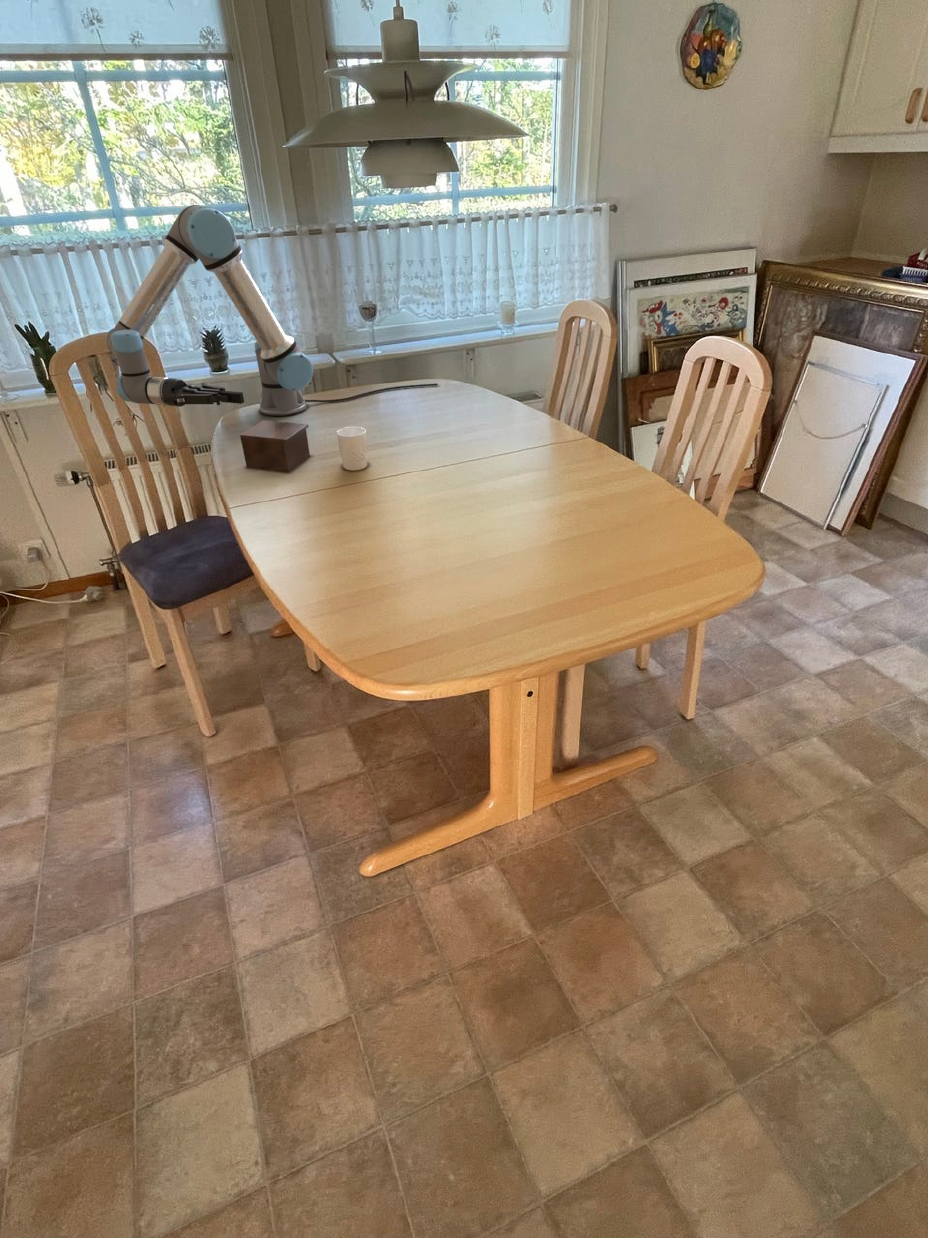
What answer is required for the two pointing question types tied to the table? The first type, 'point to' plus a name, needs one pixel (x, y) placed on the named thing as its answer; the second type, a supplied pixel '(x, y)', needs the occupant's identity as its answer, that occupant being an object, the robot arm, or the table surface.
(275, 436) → the lid
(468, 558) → the table surface
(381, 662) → the table surface
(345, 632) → the table surface
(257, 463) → the tea box
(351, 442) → the white cup
